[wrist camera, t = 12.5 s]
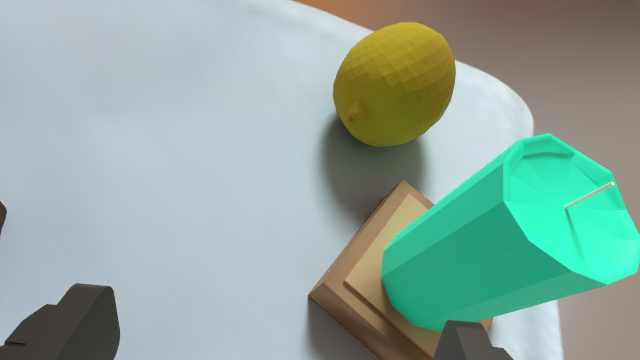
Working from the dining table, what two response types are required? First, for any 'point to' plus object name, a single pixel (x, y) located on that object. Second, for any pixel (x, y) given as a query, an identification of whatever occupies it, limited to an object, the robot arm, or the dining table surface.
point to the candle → (513, 238)
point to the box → (2, 214)
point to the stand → (377, 283)
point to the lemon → (395, 84)
